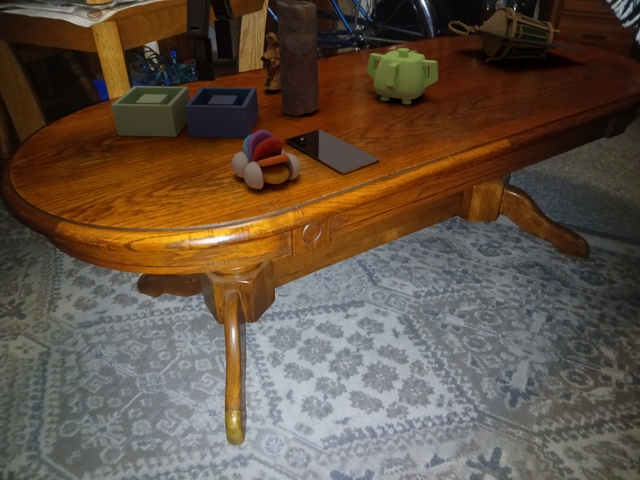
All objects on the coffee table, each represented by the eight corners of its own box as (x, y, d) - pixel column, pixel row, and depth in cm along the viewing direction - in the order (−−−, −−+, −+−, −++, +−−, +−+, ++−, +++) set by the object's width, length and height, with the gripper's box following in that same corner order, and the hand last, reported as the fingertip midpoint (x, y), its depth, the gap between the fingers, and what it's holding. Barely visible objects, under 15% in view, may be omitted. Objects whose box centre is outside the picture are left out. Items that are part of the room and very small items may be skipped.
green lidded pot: (437, 103, 104) (444, 53, 99) (386, 109, 101) (389, 58, 96) (411, 86, 113) (415, 39, 108) (363, 91, 110) (365, 44, 105)
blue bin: (189, 137, 91) (184, 106, 88) (204, 115, 100) (200, 86, 96) (248, 138, 90) (245, 107, 87) (258, 116, 99) (256, 87, 96)
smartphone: (342, 172, 78) (283, 138, 88) (342, 176, 78) (283, 141, 89) (379, 159, 82) (319, 127, 92) (379, 162, 82) (319, 130, 92)
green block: (140, 126, 94) (135, 102, 91) (149, 117, 97) (144, 94, 95) (164, 126, 93) (159, 102, 91) (172, 117, 97) (168, 94, 95)
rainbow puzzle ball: (256, 198, 72) (252, 151, 68) (227, 173, 79) (221, 128, 75) (307, 182, 76) (306, 136, 72) (275, 159, 83) (272, 116, 79)
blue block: (210, 127, 93) (207, 103, 90) (216, 118, 97) (213, 95, 94) (234, 128, 93) (232, 104, 90) (240, 119, 96) (237, 95, 94)
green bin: (118, 135, 92) (110, 105, 89) (140, 114, 101) (133, 85, 97) (176, 136, 91) (170, 106, 88) (192, 115, 100) (188, 86, 97)
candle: (283, 103, 105) (278, -4, 93) (319, 103, 104) (318, -4, 93) (280, 117, 98) (273, 4, 87) (318, 117, 98) (316, 4, 87)
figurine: (291, 91, 111) (288, 33, 105) (267, 95, 109) (263, 36, 102) (281, 85, 115) (278, 28, 108) (258, 89, 112) (253, 32, 106)
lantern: (576, 82, 127) (483, 61, 114) (512, 67, 146) (426, 48, 133) (599, 24, 121) (504, -5, 109) (529, 16, 140) (442, -9, 127)
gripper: (204, -71, 66) (221, 92, 78) (242, -79, 87) (251, 51, 99) (147, -72, 67) (173, 90, 79) (199, -80, 87) (213, 50, 99)
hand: (216, 68), depth 89 cm, fingers open, 13 cm apart
